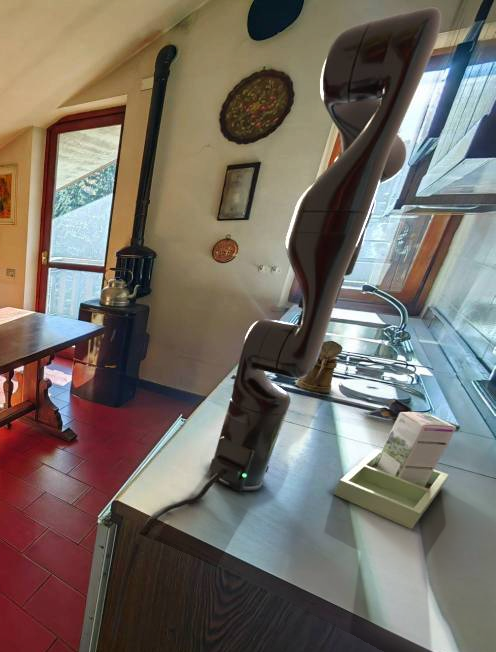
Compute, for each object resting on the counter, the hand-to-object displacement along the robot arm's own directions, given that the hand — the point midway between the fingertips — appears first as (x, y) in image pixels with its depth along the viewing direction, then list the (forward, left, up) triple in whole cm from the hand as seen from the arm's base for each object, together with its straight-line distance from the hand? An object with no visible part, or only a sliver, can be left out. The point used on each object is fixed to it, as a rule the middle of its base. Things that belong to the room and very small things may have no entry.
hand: (310, 324), depth 90 cm
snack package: (+36, -15, -28) cm, 48 cm away
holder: (-8, -24, -28) cm, 38 cm away
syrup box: (-3, -24, -28) cm, 37 cm away
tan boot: (+42, +6, -28) cm, 51 cm away
